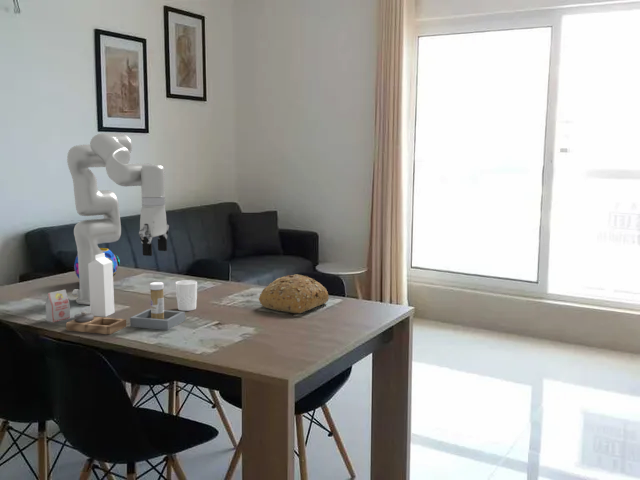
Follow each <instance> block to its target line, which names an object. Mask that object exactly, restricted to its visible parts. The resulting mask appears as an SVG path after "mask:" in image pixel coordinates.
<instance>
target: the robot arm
mask: <svg viewBox="0 0 640 480" xmlns="http://www.w3.org/2000/svg"><path fill="white" fill-rule="evenodd" d="M132 151H133V144H132V139H130V137H129V136H128V135H126V134H125V133H119V132H118V133H116V132H115V133H114V132H113V133H112V132H110V133H109V132H105V133H102V132H101V133H96V134H95V135H94V136H92V138H91V139H90V142H89V144H79V145H74V146H72V147H71V148H70V149H69V150H68V153H67V159H66V161H67V162H66V163H67V167H68V170H69V173H70V175H71V178H72V183H73V193H74V194H73V195H74V204H75V210H76V212H77V214H78V215H79V216H81V217H95V216H96V217H97V216H102V217H103V218H94V219H93V218H92V219H85V220H81V221H79V222H77V223H76V224H75V225H74V228H73V235H74V241H75V244H76V250H77V255H78V266H79V278H78V281H79V289H78V288H77V289H76V288H75V289H73V291H72V292H71V294H72V295H73V296H77V298H75V303H77V304H80V305H89V306H90V289H89V270H88V264H89V263H90V262H92V261H94V260H95V255H98V254H101V253H103V252H102V251H101V249H100V248H101V247H99V245H101V244H108V243H115V242H117V241H119V240H120V238H121V235H122V225H121V224H122V223H121V216H120V215H121V214H120V204H119V199H118V197H117V194H116V193H115V192H113V191H112V190H108V189H105V190H104V189H102V190H99V189H98V188H99V187H98V179H97V177H96V175H95V174H94V172H93V171H92V170H91V169H90V168H105V171H106V174H107V176H108V177H109V179H110V180H112V182H114V184H116V185H118V186H120V187H141V208H140V217H139V218H140V220H139V232H138V235H139V237H140V238H139V239H140V240H141V241H140V242H141V244H142V255H143V256H146V257H152V256H153V243H152V240H153V238H155V237H158V238H157V250H158V251H160V252H168V235H169V228H170V225H169V224H168V223H167V213H166V193H165V192H166V185H165V184H166V183H165V167H164V166H162V165H161V164H152V163H141V162H140V163H137V162H136V163H129V162H130V159H131V152H132Z"/></svg>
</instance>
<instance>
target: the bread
mask: <svg viewBox="0 0 640 480" xmlns="http://www.w3.org/2000/svg"><path fill="white" fill-rule="evenodd" d="M260 293H261V294H260V295H259V297H258V301H259V302H260V304H261V306H262V307H263V308H266V309H270V310H273V311H278V312H284V313H285V312H286V313H291V314H300V315H301V314H303V313H305V312H308V311H310V310H312V309H314V308H317V307H320V306H322V305H325V304H326V303H327V302H328V301H329V293H328V291H327V288H326V287H325V286H323V284H321V282H318V281H317V280H315V278H312V277H309V276H308V275H302V274H291V275H290V274H287V275H285V276H281V277H278V278H276V279H275V280H273V281H272V282H270V283H269V284H268V285H267V286H266V287H264V288H263V289H262V291H261V292H260Z"/></svg>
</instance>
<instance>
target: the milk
mask: <svg viewBox="0 0 640 480" xmlns="http://www.w3.org/2000/svg"><path fill="white" fill-rule="evenodd" d="M88 270H89V289H90V305H89V306H90V307H89V308H90V313H92V314H93V316H94V317H105V318H108V317H109V316H111V315H113V314H115V312H116V311H115V291H114V290H115V289H114V277H113V265H112V261H111V260H109V259H108V258H106V257H105V253H101V254H98V255H95V260H94V261H92V262H90V263H89V264H88Z"/></svg>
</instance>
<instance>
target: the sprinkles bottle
mask: <svg viewBox="0 0 640 480" xmlns="http://www.w3.org/2000/svg"><path fill="white" fill-rule="evenodd" d="M164 287H165V286H164V282H162V281H153V282H150V283H149V291H150V309H151V318H153V319H164V310H165V299H164Z"/></svg>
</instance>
